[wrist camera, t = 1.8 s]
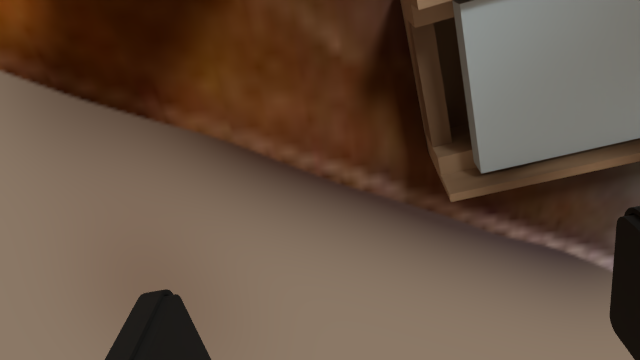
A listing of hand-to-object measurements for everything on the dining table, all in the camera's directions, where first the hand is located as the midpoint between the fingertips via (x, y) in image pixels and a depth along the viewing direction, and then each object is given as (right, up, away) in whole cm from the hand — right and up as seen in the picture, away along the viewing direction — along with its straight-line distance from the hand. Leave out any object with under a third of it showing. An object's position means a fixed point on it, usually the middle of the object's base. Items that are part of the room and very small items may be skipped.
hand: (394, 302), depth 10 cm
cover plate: (+15, +10, +13) cm, 22 cm away
